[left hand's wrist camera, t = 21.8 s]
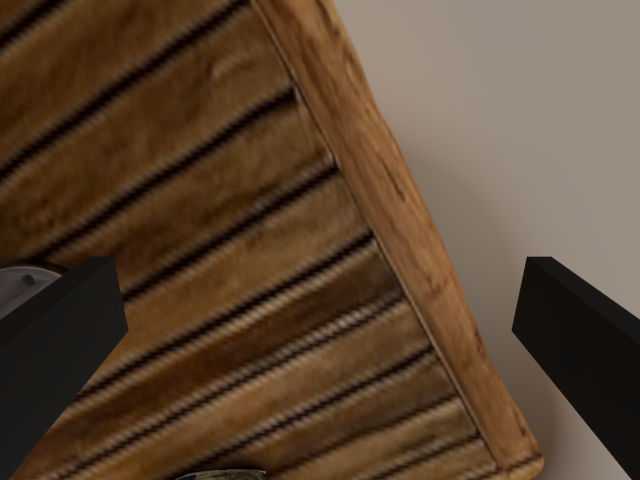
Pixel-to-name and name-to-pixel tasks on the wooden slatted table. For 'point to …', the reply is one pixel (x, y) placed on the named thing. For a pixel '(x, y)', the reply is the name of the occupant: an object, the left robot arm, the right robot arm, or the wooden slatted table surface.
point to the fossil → (226, 475)
